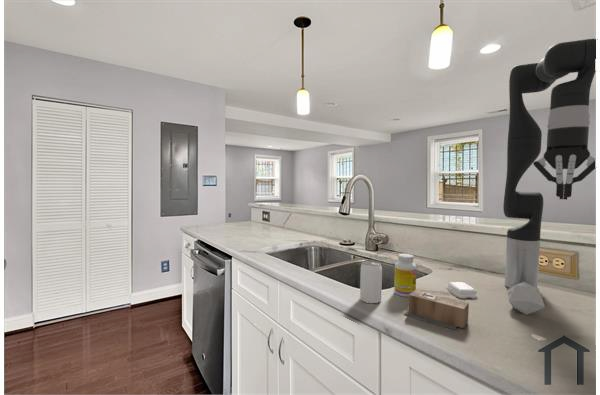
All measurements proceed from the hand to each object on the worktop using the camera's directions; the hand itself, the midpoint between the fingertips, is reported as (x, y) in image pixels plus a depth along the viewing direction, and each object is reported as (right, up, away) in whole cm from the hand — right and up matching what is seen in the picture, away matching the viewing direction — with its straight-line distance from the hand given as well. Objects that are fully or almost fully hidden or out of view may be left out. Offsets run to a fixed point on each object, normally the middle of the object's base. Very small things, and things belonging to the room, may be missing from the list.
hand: (563, 199), depth 75 cm
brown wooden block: (-22, -30, +4) cm, 37 cm away
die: (0, -32, +13) cm, 35 cm away
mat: (-27, -32, +10) cm, 43 cm away
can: (-42, -32, +21) cm, 57 cm away
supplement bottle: (-30, -31, +26) cm, 50 cm away
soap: (-11, -32, +27) cm, 43 cm away
